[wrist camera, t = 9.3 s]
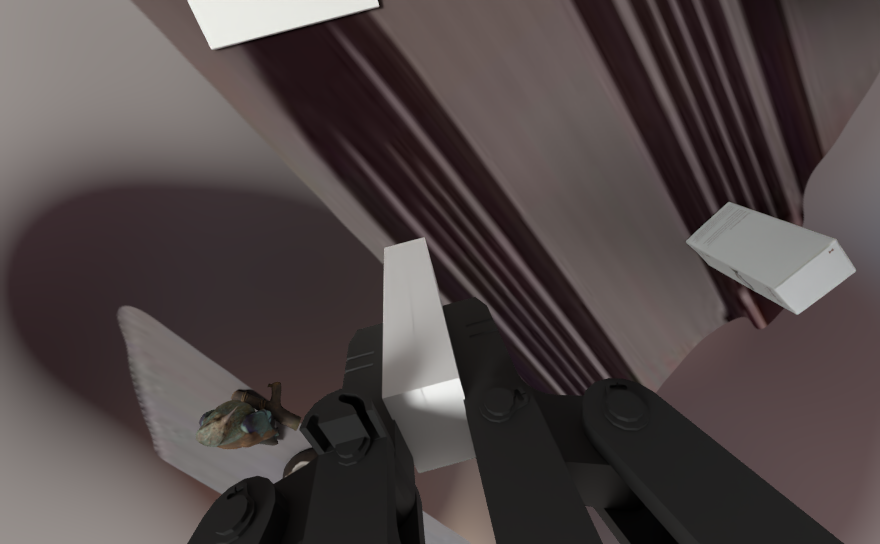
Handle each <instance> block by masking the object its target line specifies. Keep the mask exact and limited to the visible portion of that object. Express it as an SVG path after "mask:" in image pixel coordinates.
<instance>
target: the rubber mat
mask: <svg viewBox="0 0 880 544" xmlns="http://www.w3.org/2000/svg"><path fill="white" fill-rule="evenodd" d="M187 1H188V3H189V5H190V7H191V9H192V11H193V13H194V15H195V17H196V19H197V21H198V23H199V25H200V27H201V29H202V31H203V33H204V35H205V37H206V39H207V41H208V43H209V46H210V48H211V49H212V50H217V49H220V48H224V47H228V46H232V45H236V44H240V43H244V42H247V41H251V40H255V39H259V38H263V37H267V36H270V35H274V34H278V33H282V32H286V31H290V30H294V29H297V28H301V27H305V26H309V25H313V24H317V23H320V22H324V21H328V20H332V19H336V18H340V17H344V16H347V15H351V14H355V13H359V12H363V11H367V10H371V9H374V8H378V7H379V3H378V0H187Z"/></svg>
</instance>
